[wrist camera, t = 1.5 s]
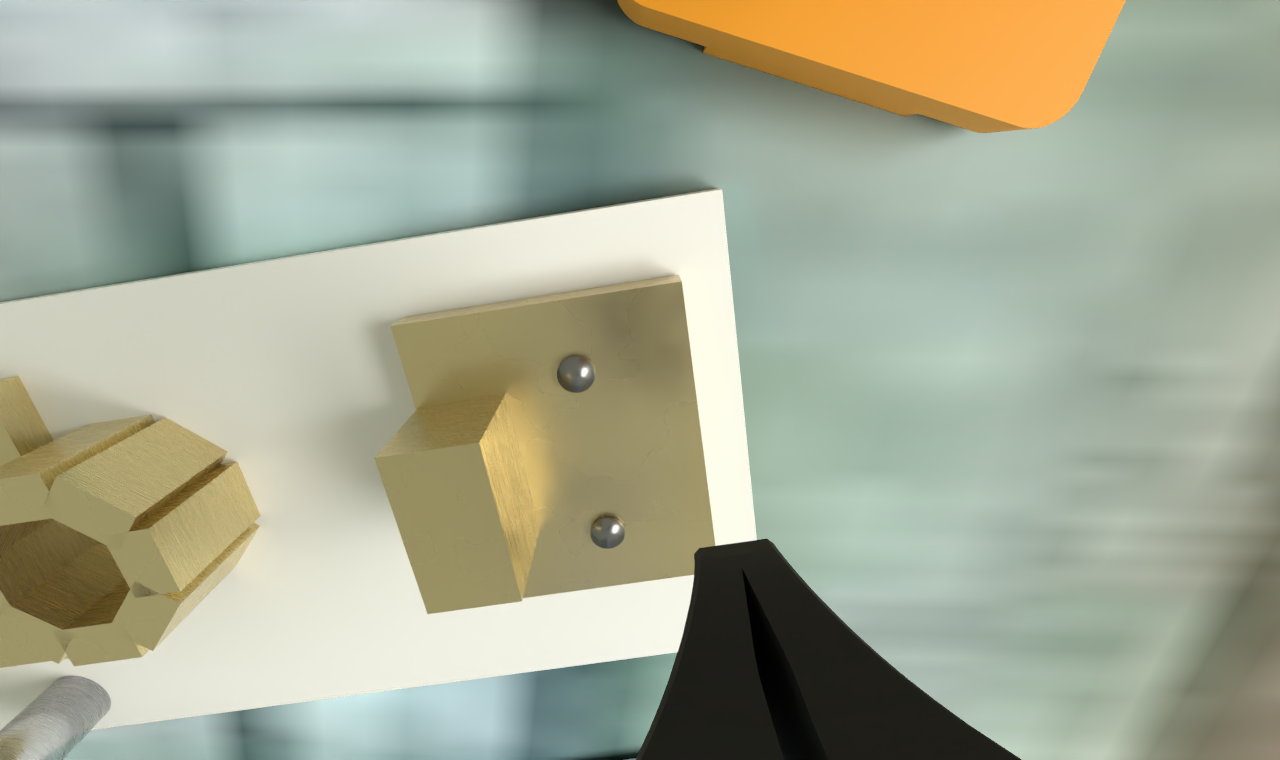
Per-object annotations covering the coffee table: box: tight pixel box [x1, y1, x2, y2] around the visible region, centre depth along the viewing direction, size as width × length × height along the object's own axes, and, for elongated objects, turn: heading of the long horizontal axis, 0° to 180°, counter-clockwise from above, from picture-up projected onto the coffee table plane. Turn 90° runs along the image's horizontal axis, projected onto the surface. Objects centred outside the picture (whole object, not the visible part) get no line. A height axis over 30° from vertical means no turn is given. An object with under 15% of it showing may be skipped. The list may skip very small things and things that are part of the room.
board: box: [0, 188, 757, 730], centre depth 19 cm, size 15×28×1 cm, turn 99°
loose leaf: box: [374, 275, 715, 614], centre depth 16 cm, size 9×8×4 cm
